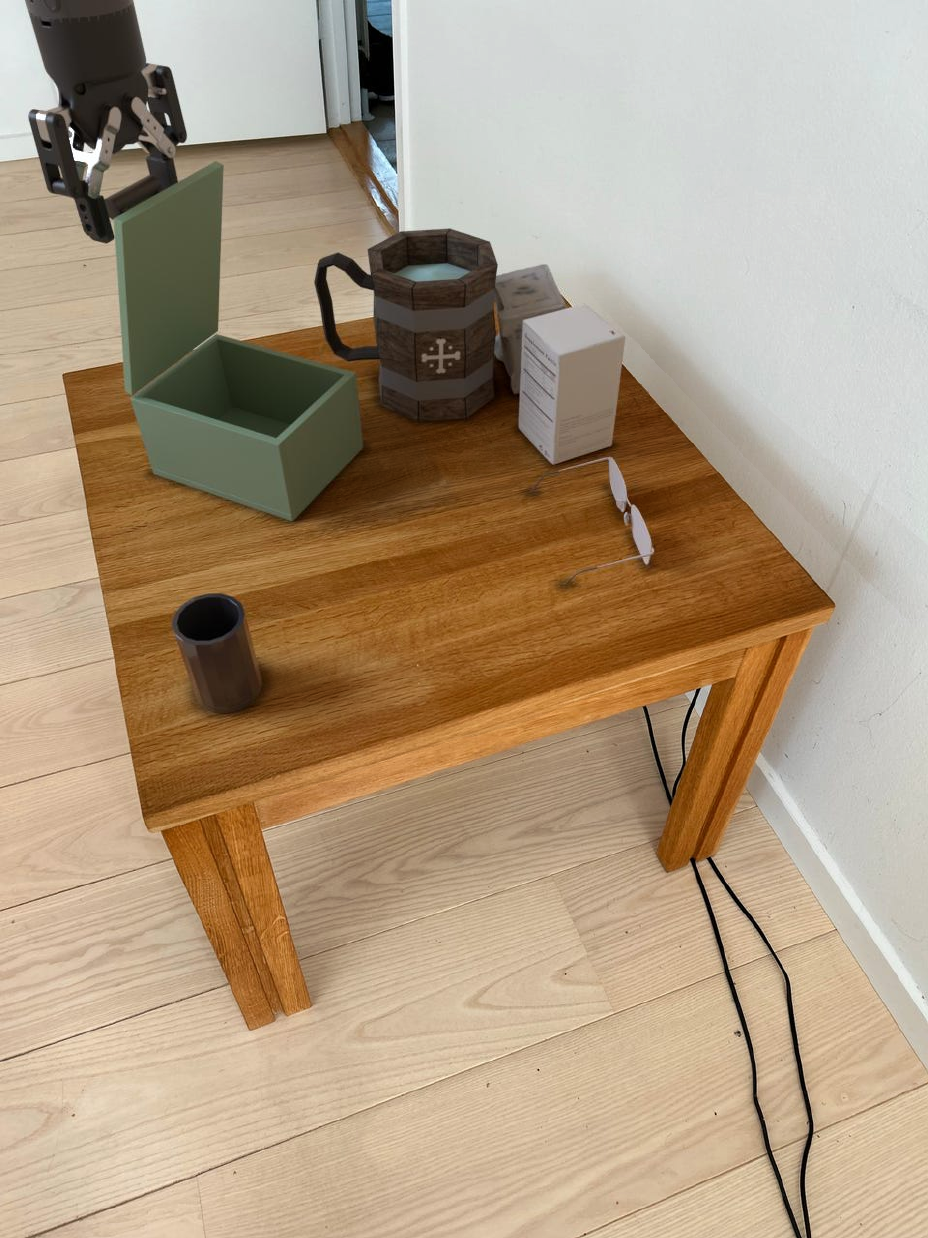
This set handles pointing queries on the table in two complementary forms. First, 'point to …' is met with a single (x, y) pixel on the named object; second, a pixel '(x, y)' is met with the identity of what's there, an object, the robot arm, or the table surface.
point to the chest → (251, 424)
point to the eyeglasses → (621, 499)
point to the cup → (218, 652)
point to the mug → (425, 321)
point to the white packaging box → (569, 382)
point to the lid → (167, 269)
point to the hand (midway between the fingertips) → (136, 220)
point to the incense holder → (521, 311)
